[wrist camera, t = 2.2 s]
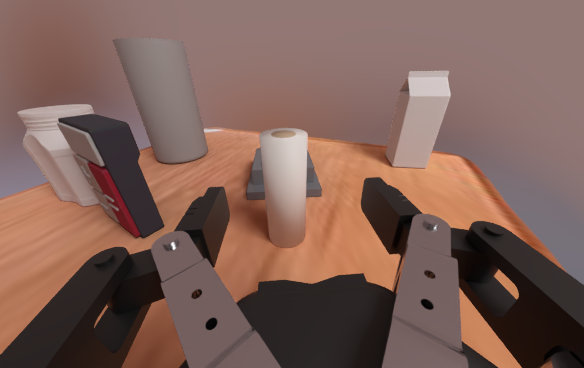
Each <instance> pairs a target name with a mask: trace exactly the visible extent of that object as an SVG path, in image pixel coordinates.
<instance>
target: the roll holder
mask: <svg viewBox="0 0 584 368" xmlns="http://www.w3.org/2000/svg"><path fill="white" fill-rule="evenodd" d="M321 190H322V189H321V186H320V183H319V181H318V178H317V175H316V173H315V170H314V166H313V163H312V160H311V158H310V155H309V153H308V150H307V177H306V197H315V196H321ZM246 193H247V200H256V199H265V188H264V178H263V167H262V157H261V148H258V149H257V150H256V154H255V158H254V162H253V166H252V171H251V175H250V179H249V184H248V188H247V192H246Z"/></svg>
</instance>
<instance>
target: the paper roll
mask: <svg viewBox="0 0 584 368" xmlns="http://www.w3.org/2000/svg"><path fill="white" fill-rule="evenodd" d="M260 146H261V157H262V167H263V178H264V188H265V199H266V209H267V220H268V230H269V238H270V241H271V242H272V243H273V244H274V245H276V246H278V247H282V248H291V247H295V246H297V245H299V244H300V243H302V241H303V240H304V238H305V222H306V177H307V132H305V131H303V130H300V129H294V128H277V129H270V130H266V131H264V132H262V133H261V134H260Z"/></svg>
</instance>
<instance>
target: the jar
mask: <svg viewBox="0 0 584 368" xmlns="http://www.w3.org/2000/svg"><path fill="white" fill-rule="evenodd" d="M17 114H18V115H19V117H20V118H21V119H22V121H23V123H25V126H26V127H27V132H26V135H25V137H24V139H23V147H24V148H25V150H26V151H27V152H28V153H29V154H30V155H31V157H32V158H33V160H34V161H35V163H36V164H37V166H38V167H39V169H40V170H41V171H42V173H43V174H44V176H45V177H46V179H47V180H48V182H49V183H50V185H51V186H52V188H53V189H54V190H55V192H56V194H57V196H58V197H59V199H60V200H62V201H71V202H76V203H78V204H79V205H80V206H84V207H86V206H92V205H96V204H100V202H99V200H98V198H97V197H96V195H95V193H94V191H93V190H92V188H93V187H92V186H91V185H90V184H89V183H88V181H87V179H86V178H85V176H84V174H82V171H81V169H80V167H79V166H78V164H77V162H76V160H75V159H74V157H73V155H75V154H77V153H75V152H74V151H72V150H71V148H70V146H69V144H68V143H67V141H66V139H65V138H64V136H63V134H62V132H61V131H60V129H59V127H58V125H57V123H59V121H58V118H64V117H71V116H78V115H85V114H94V111H93V109H92V106H91V105H86V104H79V105H78V104H76V105H59V106H49V107H41V108H34V109H27V110H23V111H19V112H18V113H17Z"/></svg>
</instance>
